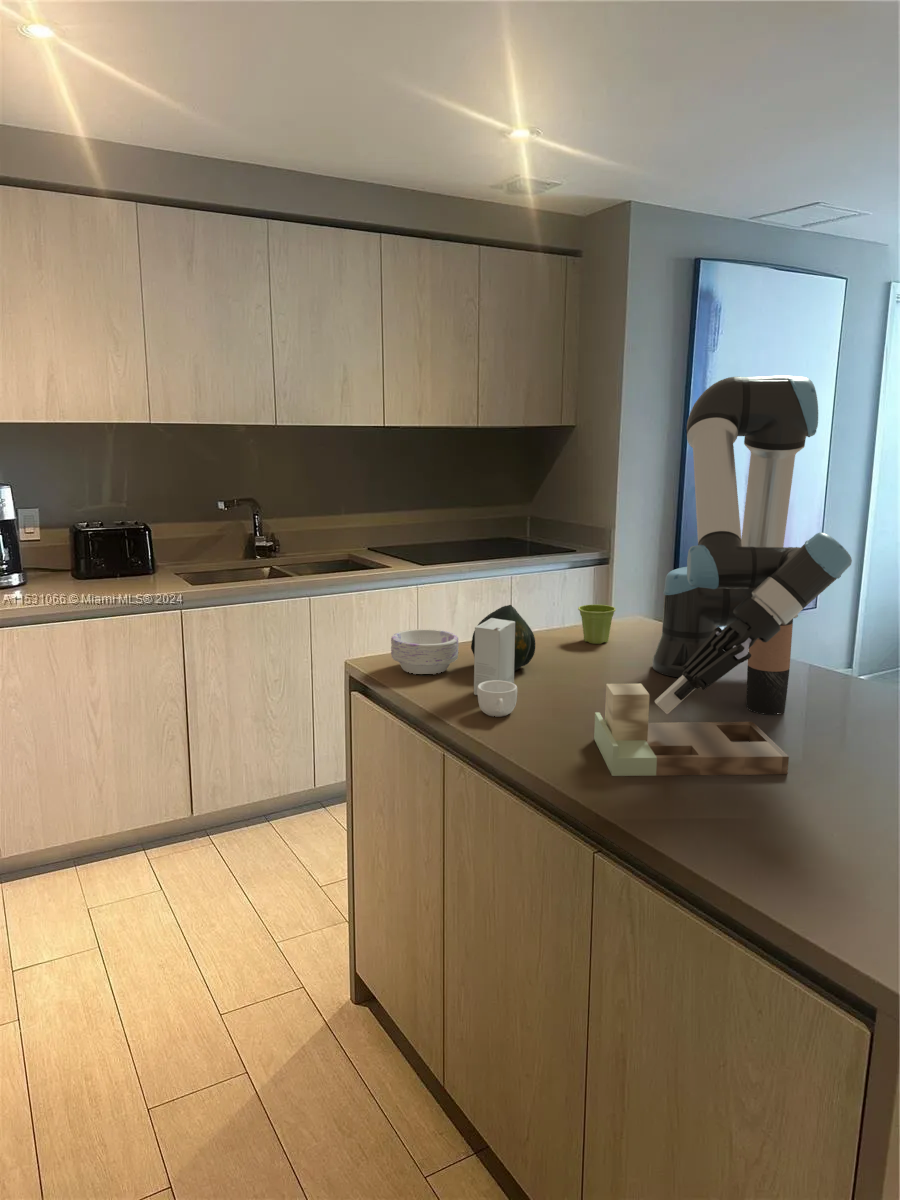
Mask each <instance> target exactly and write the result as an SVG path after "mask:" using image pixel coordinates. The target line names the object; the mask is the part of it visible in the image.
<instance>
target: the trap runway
mask: <svg viewBox="0 0 900 1200" xmlns="http://www.w3.org/2000/svg"><path fill="white" fill-rule="evenodd" d="M749 741H750V742H749ZM646 742H647V743H648V745H649V746H650V748H651V749H652V751H653V752H654V754H655V756H656V757H657V766H656V776H729V775H730V776H731V775H732V776H733V775H734V776H737V775H738V776H740V775H742V776H743V775H744V776H745V775H749V776H750V775H788V773H789V771H788V770H789V760H790V759H789V758H790V756H789V755H788V754H787V753H786V752H785V751H784V749H782V748H781V747H780V746H779V745H778V744H777V743H775V742H774V741H773V739H772V738H770V737H769V736H768V735H767V734H766V733H765V732H764V731H763V730H762V729H761V728H760V727H759V726H758V725H757V724H755V722H754V721H710V722H709V721H708V722H707V721H699V722H697V721H696V722H694V721H693V722H691V721H688V722H686V721H685V722H683V721H681V722H678V721H677V722H674V721H673V722H648V740H646Z"/></svg>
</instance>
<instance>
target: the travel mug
mask: <svg viewBox="0 0 900 1200" xmlns="http://www.w3.org/2000/svg"><path fill="white" fill-rule="evenodd" d="M793 623H794V618H793V619H792V620H790V621H789V622H788V623H787V624H786V625H783V624H780V627H781V628H780V631H779V632H778V633H777V634H775V635H774V636H773V637H772V638H771V639H770V640H769V641H768V642H762V641H761V640H759V639H757V640H756V641H755V643H754V644H753V645H752V646H751V647H750V648H749V649H748V652H749V653H750V654H751V657H750V658H749V659H748V660H747V670H746V671H747V673H746V675H747V676H746V698H745V699H746V701H745V702H746V704H745V705H746V708H748V709H747V710H749V709H750V710H752V711H751V712H753V711H755V712H754V713H756V712H758V713H757V714H760V713H764V714H763V715H769V714H774V715H778V714H777V713H781V714H783V713H784V712H785V711H786V704H787V696H788V695H787V694H788V685H789V679H790V678H789V677H790V668H791V657H792V656H791V655H792V654H791V653H792V643H793V642H792V641H793V626H794V624H793ZM750 710H749V711H750ZM782 712H783V713H782Z"/></svg>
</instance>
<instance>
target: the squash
mask: <svg viewBox="0 0 900 1200" xmlns="http://www.w3.org/2000/svg"><path fill="white" fill-rule="evenodd" d="M512 605H513V604H512ZM512 605H511V604H508V605H503V606H502V607H499V608H498V609H496V610H493V611H492V612H490V613H489V614H488V615H487V616H485V617H483V619H481V621H479V623H478V624H477V625H476V626H478V625H480V624H482V623H483V622H485V621H487V620H488V619H490V618H495V619H501V620H509V621H515V657H514V672H515V671H518V670H520V669H521V667H524V666H526V665H528V664H529V663H530V662H531V661H532V659H533V658H534V656H535V652H536V637H535V634H534V633H533V630H532V629H531V627H530V626H529V625H528V623H527V622H526V620H525V619H524V618H523V617H522V616H521V614H520V613H519V612H518V610H516V608H515V607H514V606H512ZM470 649H471V651H472V654H473V655H474V653H475V630H474V631H473V633H472V638H471V644H470Z"/></svg>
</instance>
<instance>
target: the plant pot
mask: <svg viewBox="0 0 900 1200" xmlns="http://www.w3.org/2000/svg"><path fill="white" fill-rule="evenodd" d="M577 610H578V611H579V614H580V618H581V624H582V633H583V640H584V642H585V643H586V642H587V643H589V644H595V645H600V644H603V643H608V642H609V639H610V633H611V628H612V627H611V626H612V621H613V616H614V614H615V612H616V607H614V606H612V605H605V604H586V605H585V604H584V605H581V606H578V609H577Z"/></svg>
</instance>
